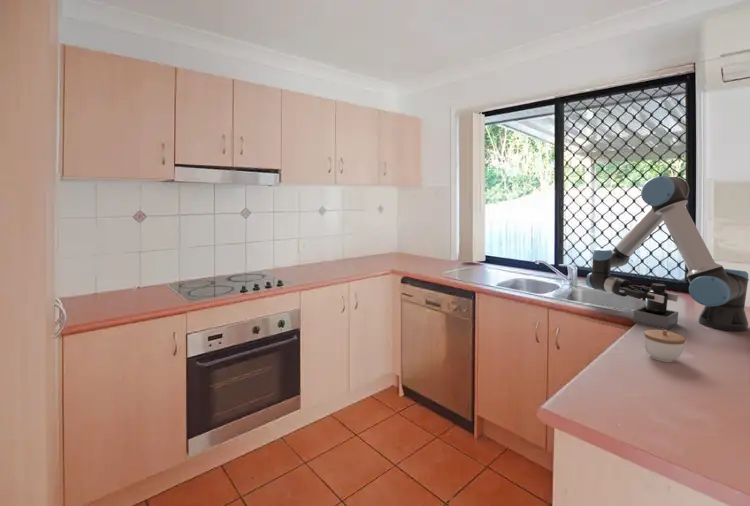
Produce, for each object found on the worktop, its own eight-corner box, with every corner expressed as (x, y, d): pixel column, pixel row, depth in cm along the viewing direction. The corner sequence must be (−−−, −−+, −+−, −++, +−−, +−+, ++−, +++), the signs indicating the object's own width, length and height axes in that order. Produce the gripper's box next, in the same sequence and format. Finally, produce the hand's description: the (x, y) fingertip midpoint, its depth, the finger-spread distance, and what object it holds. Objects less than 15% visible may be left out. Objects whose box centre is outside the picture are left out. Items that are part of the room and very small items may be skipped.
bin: (677, 323, 165) (678, 312, 165) (667, 329, 158) (668, 317, 157) (643, 317, 175) (644, 305, 174) (633, 322, 167) (634, 310, 167)
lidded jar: (642, 360, 129) (645, 331, 128) (641, 349, 138) (644, 322, 137) (684, 367, 123) (688, 338, 122) (680, 356, 132) (684, 328, 131)
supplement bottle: (646, 309, 171) (649, 281, 169) (666, 312, 166) (670, 284, 165) (644, 313, 165) (647, 284, 164) (665, 316, 161) (668, 287, 159)
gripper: (634, 293, 185) (686, 306, 164) (600, 296, 179) (651, 310, 157) (635, 276, 184) (688, 287, 163) (602, 279, 178) (652, 291, 156)
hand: (670, 298), depth 160 cm, fingers closed on supplement bottle, 7 cm apart
